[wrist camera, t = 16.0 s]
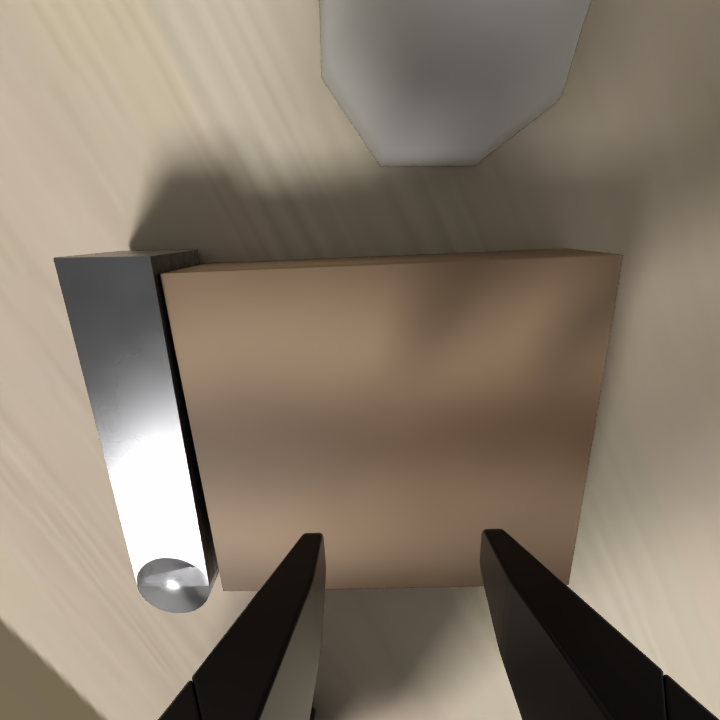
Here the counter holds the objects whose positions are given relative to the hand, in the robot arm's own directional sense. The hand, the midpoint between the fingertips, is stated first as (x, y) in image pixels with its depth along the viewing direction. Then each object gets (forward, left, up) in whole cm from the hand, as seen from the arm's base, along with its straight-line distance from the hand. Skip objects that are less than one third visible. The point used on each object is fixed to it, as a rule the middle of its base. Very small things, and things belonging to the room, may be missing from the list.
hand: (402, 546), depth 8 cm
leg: (-5, +8, -7) cm, 11 cm away
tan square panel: (0, 0, -7) cm, 7 cm away
